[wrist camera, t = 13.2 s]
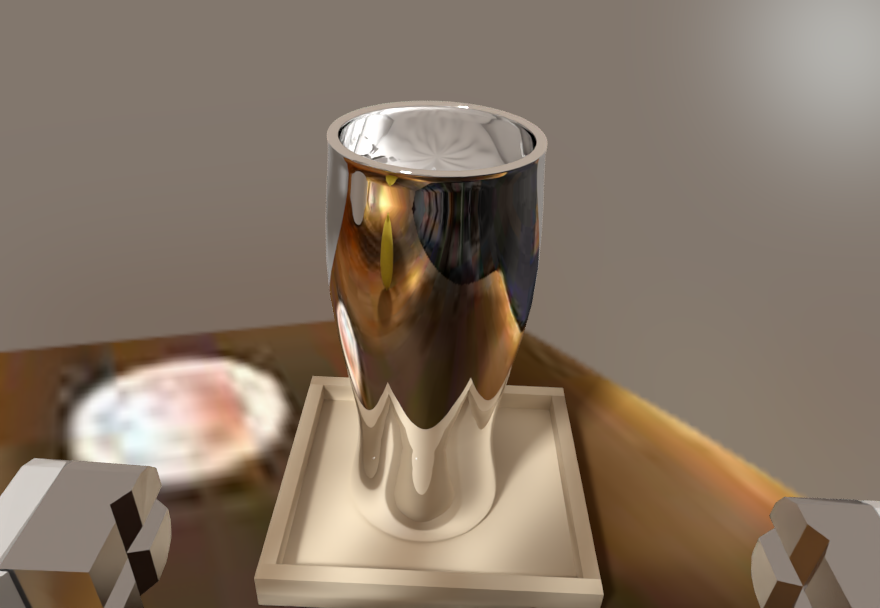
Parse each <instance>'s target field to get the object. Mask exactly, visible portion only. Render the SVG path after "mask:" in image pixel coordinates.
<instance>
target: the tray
mask: <svg viewBox="0 0 880 608" xmlns="http://www.w3.org/2000/svg"><path fill="white" fill-rule="evenodd" d="M357 439H358V415H357V407H356V403H355V399H354V394H353V390H352V386H351V383H350V379H349V378H341V377H320V376H313V377H312V380H311V384H310V387H309V391H308V394H307V398H306V401H305V405H304V408H303V412H302V415H301V418H300V422H299V425H298V429H297V432H296V436H295V439H294V443H293V446H292V450H291V453H290V456H289V460H288V463H287V467H286V470H285V474H284V477H283V481H282V484H281V488H280V491H279V494H278V498H277V501H276V505H275V508H274V512H273V515H272V519H271V522H270V526H269V529H268V533H267V536H266V539H265V543H264V546H263V550H262V553H261V557H260V560H259V564H258V567H257V571H256V574H255V577H254V580H255V586H256V591H257V597H258V603H259V605H277V606H299V607H320V608H600V606H601V603H602V599H603V596H604V593H603V588H602V583H601V578H600V573H599V568H598V563H597V558H596V553H595V548H594V543H593V538H592V533H591V528H590V522H589V517H588V512H587V507H586V502H585V497H584V492H583V487H582V482H581V477H580V472H579V467H578V462H577V457H576V452H575V447H574V442H573V436H572V431H571V426H570V421H569V416H568V411H567V406H566V401H565V396H564V391H563V388H554V387H533V386H511V385H506V386H505V389H504V392H503V395H502V398H501V401H500V404H499V407H498V411H497V414H496V419H495V424H494V433H493V446H494V454H495V462H496V470H497V493H496V497H495V500H494V503H493V505H492V507H491V509H490V511H489V512H488V514H487V515H486V516H485V518H484V519H483V520H482V521H481V522H480V523H479V524H477V525H476V526H475V527H474V528H472V529H471V530H469V531H467V532H465V533H463V534H461V535H459V536H456V537H453V538H450V539H446V540H441V541H434V542H415V541H408V540H403V539H399V538H396V537H393V536H391V535H388V534H386V533H384V532H382V531H380V530H379V529H377V528H376V527H374V526H373V525H372V524H370V523H369V522H368V521H367V520H366V519H365V518H364V517H363V516H362V514H361V513H360V512H359V510H358V508H357V507H356V505H355V502H354V500H353V497H352V493H351V487H350V478H351V470H352V464H353V459H354V455H355V450H356V445H357Z"/></svg>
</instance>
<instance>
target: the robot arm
mask: <svg viewBox="0 0 880 608" xmlns="http://www.w3.org/2000/svg"><path fill="white" fill-rule="evenodd" d="M161 486H162V485H161V482H160V479H159V475H158V472H157V469H156V468H154V467H150V466H139V465H126V464H113V463H100V462H87V461H67V460H53V459H38V458H34V459H33V460H31V461H30V462H28V463H27V464H25V465H24V466H22V467H21V468H20V470H19V471H18V472H17V474H16V475H15V477H14V478H13V479H12V481H11V482H10V484H9V485H8V486H7V488H6V489H5V490H4V492H3V493H2V495H1V496H0V608H144V607H143V604H142V600H141V597H140V596H141V595H142V594H143V593H144V592H146V591H147V590H148V589H149V588H150V587H152V586H153V585H154V584H155V583H157V582H158V581H159V579H160V576H161V574H162V571H163V568H164V566H165V563H166V561H167V556H168V551H169V546H170V541H171V520H170V516H169V512H168V508H166V507H165V506H164V505H163V504H162V503H160V502H159V501H158V500H157V499H156V497H157V495H158V492H159V490H160V488H161ZM769 516H770V518H771V521H772V523H773V525H774V527H775V528H774V529H772V530H771V531H769V532H767V533H766V534H764V535H763V536H761V537H760V538H759V539H758V541H757V544H756V546H755V548H754V551H753V553H752V568H751V576H752V581H753V586H754V590H755V594H756V596H757V599H758V602H759V604H760V607H761V608H880V501H864V500H863V501H858V500H850V499H825V498H798V497H784V498H782V499H781V500H779V501H778V502H776V503H775V505H774V507H773V509H772V511H771V513H770V515H769Z"/></svg>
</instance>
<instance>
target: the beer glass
mask: <svg viewBox="0 0 880 608" xmlns="http://www.w3.org/2000/svg"><path fill="white" fill-rule="evenodd" d="M327 141H328V167H327V189H326V259H327V270H328V280H329V292H330V299H331V304H332V309H333V314H334V319H335V324H336V329H337V334H338V337H339V341H340V345H341V349H342V353H343V357H344V361H345V364H346V368H347V372H348V375H349V379H350V383H351V386H352V390H353V394H354V399H355V403H356V407H357V415H358V439H357V445H356V450H355V455H354V459H353V464H352V470H351V478H350V487H351V493H352V497H353V500H354V502H355V505H356V507H357V508H358V510H359V512H360V513H361V514H362V516H363V517H364V518H365V519H366V520H367V521H368V522H369V523H370V524H372V525H373V526H374V527H376V528H377V529H379V530H380V531H382V532H384V533H386V534H388V535H391V536H393V537H396V538H399V539H403V540H408V541H415V542H434V541H441V540H446V539H450V538H453V537H456V536H459V535H461V534H463V533H465V532H467V531H469V530H471V529H472V528H474V527H475V526H476V525H477V524H479V523H480V522H481V521H482V520H483V519H484V518H485V516H486V515H487V514H488V512H489V511H490V509H491V507H492V505H493V503H494V500H495V497H496V493H497V470H496V462H495V454H494V446H493V433H494V424H495V419H496V414H497V411H498V407H499V404H500V401H501V398H502V395H503V392H504V389H505V386H506V384H507V381H508V378H509V375H510V372H511V370H512V367H513V364H514V361H515V358H516V355H517V352H518V349H519V346H520V343H521V341H522V337H523V334H524V330H525V327H526V323H527V320H528V316H529V312H530V309H531V305H532V300H533V295H534V289H535V283H536V277H537V271H538V265H539V255H540V244H541V234H542V219H543V201H544V171H545V155H546V149H547V139H546V136H545V135H544V133H543V132H542V131H541V130H540V129H539V128H538V127H537V126H536V125H534V124H533V123H531V122H529V121H527V120H525V119H523V118H521V117H519V116H516V115H514V114H511V113H508V112H504V111H501V110H498V109H494V108H490V107H484V106H479V105H473V104H466V103H458V102H446V101H406V102H405V101H404V102H393V103H386V104H379V105H374V106H369V107H365V108H361V109H358V110H355V111H352V112H350V113H348V114H345V115H343V116H342V117H340V118H338V119H337V120H335V121H334V122H333V123H332V124H331V126H330V127H329V129H328V131H327Z"/></svg>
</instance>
